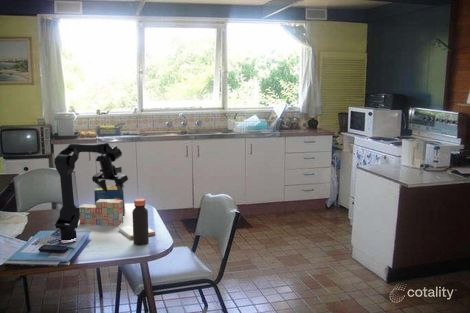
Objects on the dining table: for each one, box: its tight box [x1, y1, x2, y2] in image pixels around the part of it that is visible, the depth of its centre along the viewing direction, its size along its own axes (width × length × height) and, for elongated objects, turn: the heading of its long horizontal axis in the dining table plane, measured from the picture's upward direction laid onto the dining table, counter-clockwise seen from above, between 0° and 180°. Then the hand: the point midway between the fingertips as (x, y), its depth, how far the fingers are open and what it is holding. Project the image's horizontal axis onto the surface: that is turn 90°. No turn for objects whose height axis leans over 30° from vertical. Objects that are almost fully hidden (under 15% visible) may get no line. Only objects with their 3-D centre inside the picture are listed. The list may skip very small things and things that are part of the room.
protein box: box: [93, 184, 126, 217], centre depth 253 cm, size 10×15×16 cm
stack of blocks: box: [78, 199, 124, 227], centre depth 237 cm, size 21×6×12 cm, turn 84°
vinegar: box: [131, 198, 150, 246], centre depth 207 cm, size 7×7×20 cm
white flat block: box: [118, 224, 156, 240], centre depth 222 cm, size 12×16×2 cm
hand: (113, 192), depth 238 cm, fingers open, 9 cm apart
